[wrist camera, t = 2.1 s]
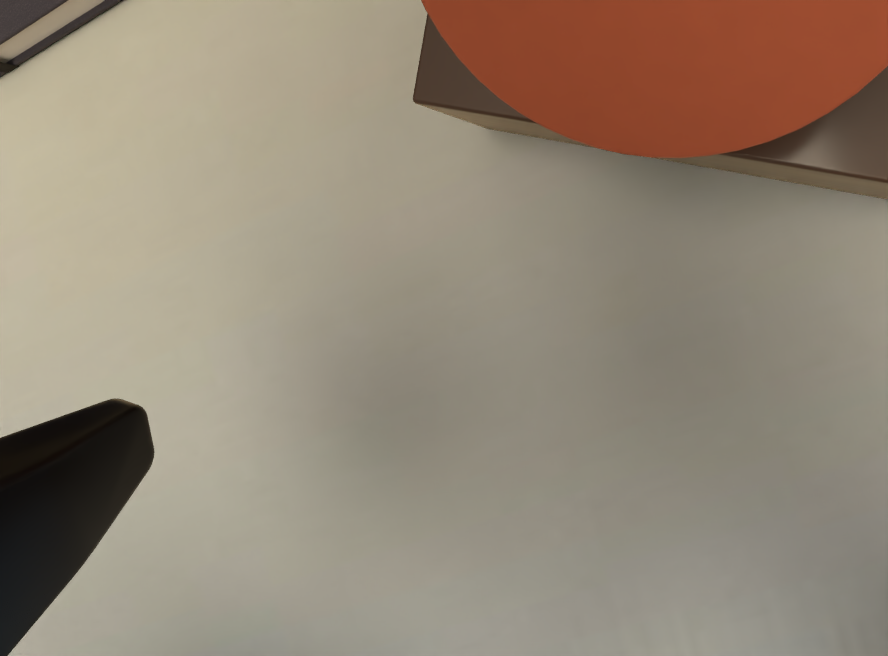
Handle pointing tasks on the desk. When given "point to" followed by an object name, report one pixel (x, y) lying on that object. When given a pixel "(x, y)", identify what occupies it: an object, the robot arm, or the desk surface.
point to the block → (786, 158)
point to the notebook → (40, 25)
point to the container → (669, 66)
